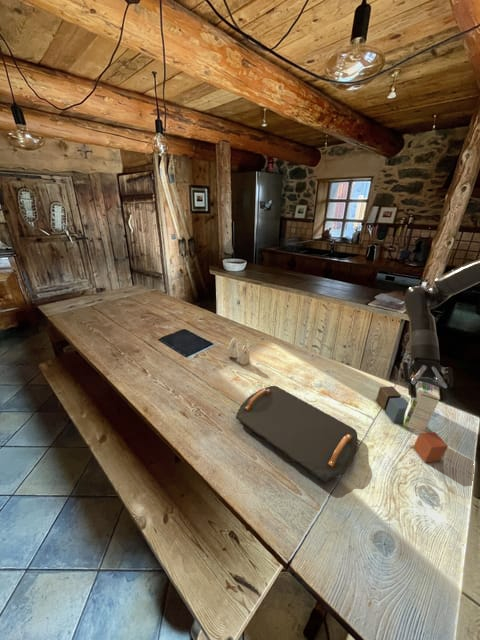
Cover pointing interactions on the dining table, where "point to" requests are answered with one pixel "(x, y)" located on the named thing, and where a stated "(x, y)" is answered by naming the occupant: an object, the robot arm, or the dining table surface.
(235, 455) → the dining table surface
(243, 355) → the shaker set
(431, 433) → the terracotta block
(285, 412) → the serving tray
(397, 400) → the slate blue block
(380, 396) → the walnut block
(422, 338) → the robot arm
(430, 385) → the syrup box
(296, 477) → the dining table surface
